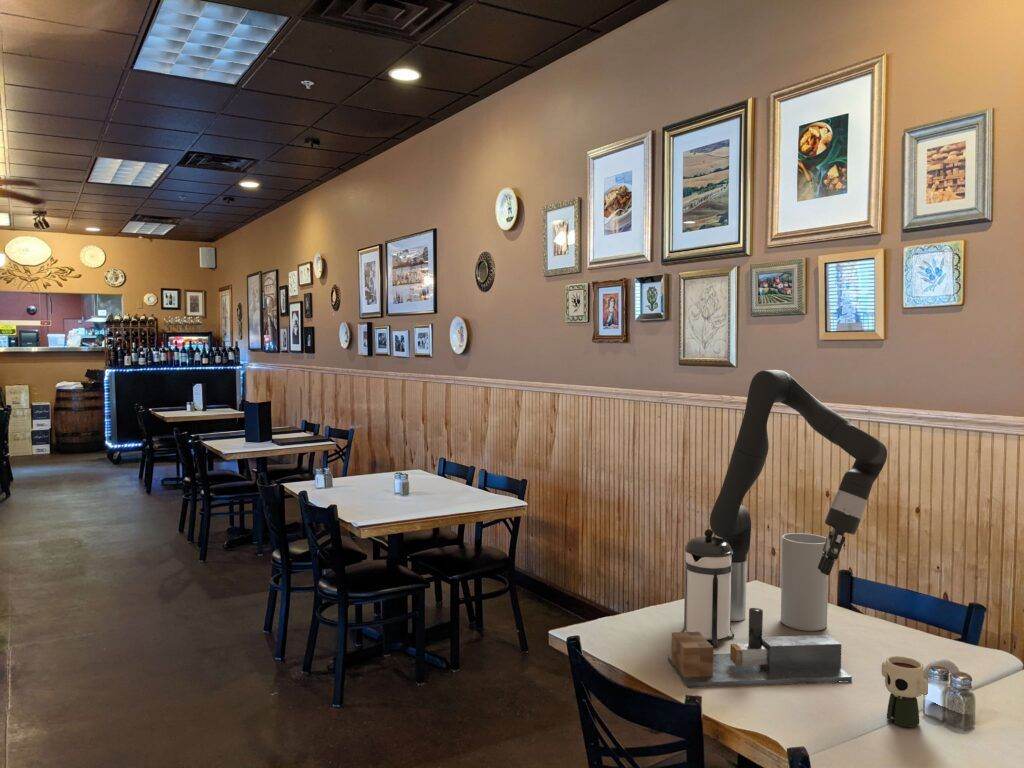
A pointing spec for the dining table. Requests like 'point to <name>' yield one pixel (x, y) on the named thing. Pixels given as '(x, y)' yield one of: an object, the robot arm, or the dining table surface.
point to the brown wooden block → (692, 654)
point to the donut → (942, 663)
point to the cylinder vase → (803, 583)
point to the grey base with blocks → (779, 664)
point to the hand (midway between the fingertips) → (822, 572)
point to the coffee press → (708, 587)
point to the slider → (751, 643)
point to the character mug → (904, 689)
